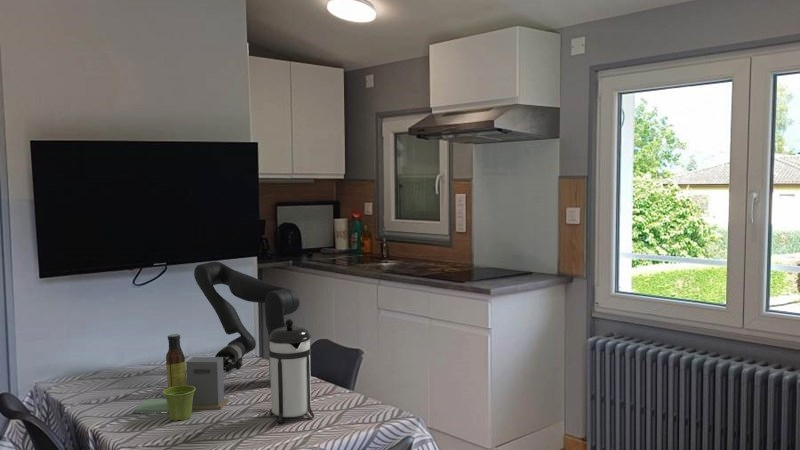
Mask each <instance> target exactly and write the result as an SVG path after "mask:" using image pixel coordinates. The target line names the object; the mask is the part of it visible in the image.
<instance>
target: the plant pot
mask: <svg viewBox="0 0 800 450" xmlns="http://www.w3.org/2000/svg"><path fill="white" fill-rule="evenodd" d="M195 390H196V388H195V387H193V386H186V385H184V386H175V387H171V388H168V387H167V388H166V389H164V390H163V391H162V394H163V395H164V397H165V398H164V399H167V404H168V409H169V413H168V415H169V419H170V420H171V421H173V422H177V421H186V420H189V419H190V418H191V416H192V413H193V412H192V411H193V409H192V401H193V395H194V391H195Z"/></svg>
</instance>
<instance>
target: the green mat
mask: <svg viewBox="0 0 800 450" xmlns="http://www.w3.org/2000/svg"><path fill="white" fill-rule="evenodd" d="M139 412H143V413H142V414H162V413H161V412H167V413H166V414H169V413H168V412H169V409H168V404H167V399H166V398H147V399H146V400H145V401H144V402H142V403H141V404H139V405H138V406H137V407H135V408H134V409H133V413H134V414H140V413H139ZM154 412H156V413H154Z"/></svg>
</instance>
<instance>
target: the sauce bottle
mask: <svg viewBox="0 0 800 450" xmlns="http://www.w3.org/2000/svg"><path fill="white" fill-rule="evenodd" d="M167 340H168V350H167V353H166V355H165V361H166V362H165V363H166V379H167V389H168V388H171V387H175V386H184V385H186V386H187V372H186V356H185V355H184V352H183V350H182V347H181V334H180V333H172V334H168V335H167Z"/></svg>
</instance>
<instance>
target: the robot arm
mask: <svg viewBox="0 0 800 450" xmlns="http://www.w3.org/2000/svg"><path fill="white" fill-rule="evenodd" d="M193 275H194V279H195V281H196V285H198V287H199V289H200V290H201V292H202V293H203V295H204V296H205V298H206V299H207V301H208V302H209V304H210V305H211V306H212V308H213V309H214V310H213V311H214V312H215V313H216V314H217V316H218V317H217V318H218V319H219V321H220V324H221V326H222V329H223V330H224V332H225V334H226V335H234V334H237V333H238V334H239V335H240V336H238V337H237V338H235V339H233V340H231V341H230V342H228V343H227V345H226V346H224V347H222V348H221V349H220V350H219V351H218V352H217V353H216V354H215V355H214V357H223V371H225V373H229V372H231V371H233V370H237V371H238V370H240V369H241V368H242V367H243V366H244V365H243V364H244V362H243V358H244V356H245V355H247V354H248V353H250V352H252V351H254V350H255V349H256V345H257V342H256V339H255V338H254V336H253V335H252V333H250V332H249V331H248V330H247V328H246V327H245V326H244V324H243V322H242V321H241V318H240V316H239V314H238V311H237V310H236V309H235V307H234V306H233V305H232V304H231V303H230V302H229V301H227V300H226V299H225V298H224V297H222V296H221V295H220V294H219V292H217V290H216V289H215V287H214V286H216V285H224V286H225V285H226V286H228V289H229V291H230V293H231V294H232V295H233V296H234V297H236V298H238V299H240V300H243V301H246V302H249V303H259V304H264V316H265V325H266V330H267V333H268V337H269V336H270V334H271V332H272V331H273V330H274V329H276V328H279V327H284V326H287V325H286V321H285V317H284V316H288V315H290V314H293V313H295V312H296V311H297V310H298V309H299V308H300V298H299V296H298V294H297V293H296V292H295V291H293V290H292V289H290V288H286V287H281V286H277V285H274V284H271V283H270V282H269V283H268V282H266V281H264V280H261V279H259V278H257V277H255V276H251V275H249V274H246V273H243V272H241V271H238V270H235V269H232V268H231V267H229V266H228V265H226V264H224V263H222V262H220V261H209V262H205V263H200V264H197V265H196V266H195V268H194V272H193ZM268 337H267V338H268ZM267 340H268V339H267ZM269 349H270V342H269V340H268V350H269ZM268 372H269V373H268V378H269V384H271V373H270V356H269V355H268Z"/></svg>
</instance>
